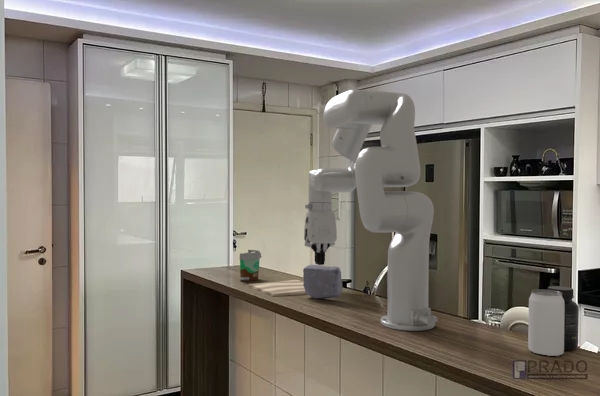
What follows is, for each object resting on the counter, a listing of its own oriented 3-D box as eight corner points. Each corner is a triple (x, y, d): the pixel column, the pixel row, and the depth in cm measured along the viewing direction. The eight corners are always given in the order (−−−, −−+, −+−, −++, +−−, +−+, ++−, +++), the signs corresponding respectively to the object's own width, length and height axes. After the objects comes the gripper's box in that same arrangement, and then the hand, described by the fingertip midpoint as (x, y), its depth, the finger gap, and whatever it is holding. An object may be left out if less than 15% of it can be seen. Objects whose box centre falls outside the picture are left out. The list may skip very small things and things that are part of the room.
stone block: (301, 298, 156) (301, 264, 156) (310, 296, 160) (310, 263, 160) (335, 304, 149) (335, 268, 149) (344, 301, 153) (344, 266, 153)
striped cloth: (324, 292, 165) (324, 288, 165) (272, 297, 157) (272, 293, 157) (297, 283, 181) (297, 279, 181) (248, 287, 173) (248, 284, 173)
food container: (256, 283, 181) (257, 254, 181) (239, 282, 182) (239, 253, 182) (264, 277, 193) (265, 249, 193) (248, 276, 194) (248, 249, 194)
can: (568, 351, 106) (568, 291, 106) (558, 359, 101) (559, 296, 101) (534, 345, 110) (535, 287, 110) (523, 352, 106) (524, 292, 105)
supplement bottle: (575, 342, 112) (576, 286, 112) (580, 352, 106) (581, 292, 106) (540, 339, 115) (541, 284, 115) (542, 348, 108) (543, 289, 108)
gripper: (305, 208, 165) (305, 267, 166) (345, 207, 172) (345, 264, 173) (294, 207, 172) (294, 264, 172) (333, 207, 179) (333, 261, 179)
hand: (319, 264), depth 172 cm, fingers closed
